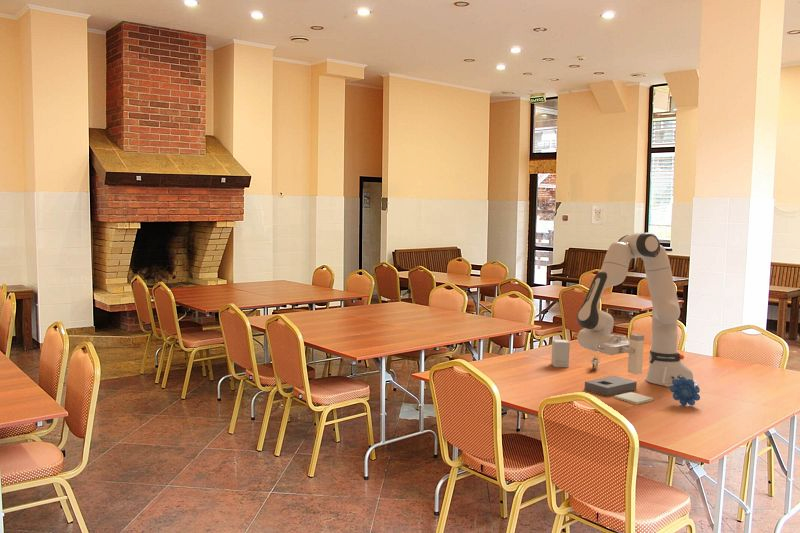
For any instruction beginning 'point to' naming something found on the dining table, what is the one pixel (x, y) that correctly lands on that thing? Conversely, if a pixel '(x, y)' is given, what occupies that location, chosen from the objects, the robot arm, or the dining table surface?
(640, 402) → the sage pad
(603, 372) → the dining table surface
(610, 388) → the block
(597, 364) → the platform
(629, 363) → the cream plug
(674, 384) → the grapes
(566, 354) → the supplement box
